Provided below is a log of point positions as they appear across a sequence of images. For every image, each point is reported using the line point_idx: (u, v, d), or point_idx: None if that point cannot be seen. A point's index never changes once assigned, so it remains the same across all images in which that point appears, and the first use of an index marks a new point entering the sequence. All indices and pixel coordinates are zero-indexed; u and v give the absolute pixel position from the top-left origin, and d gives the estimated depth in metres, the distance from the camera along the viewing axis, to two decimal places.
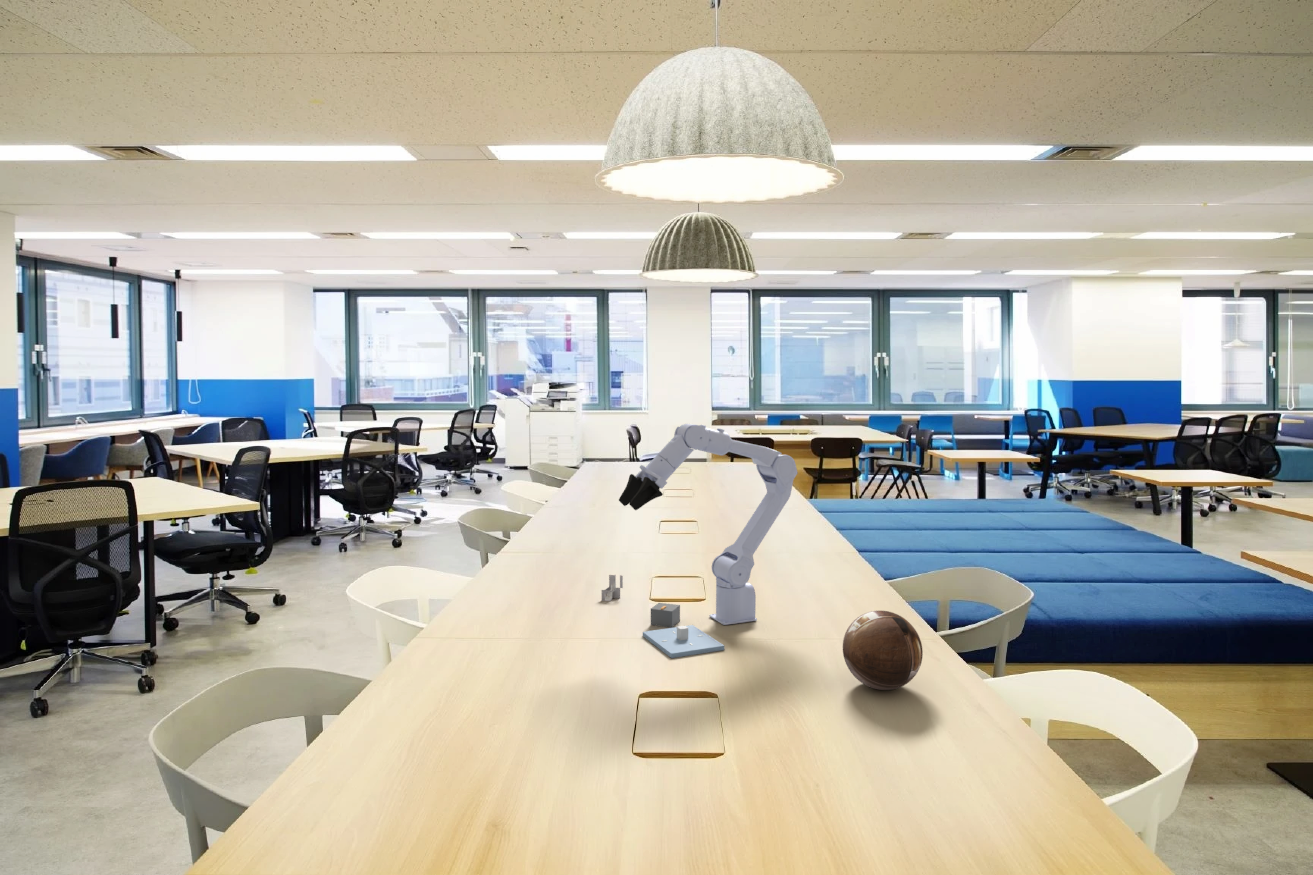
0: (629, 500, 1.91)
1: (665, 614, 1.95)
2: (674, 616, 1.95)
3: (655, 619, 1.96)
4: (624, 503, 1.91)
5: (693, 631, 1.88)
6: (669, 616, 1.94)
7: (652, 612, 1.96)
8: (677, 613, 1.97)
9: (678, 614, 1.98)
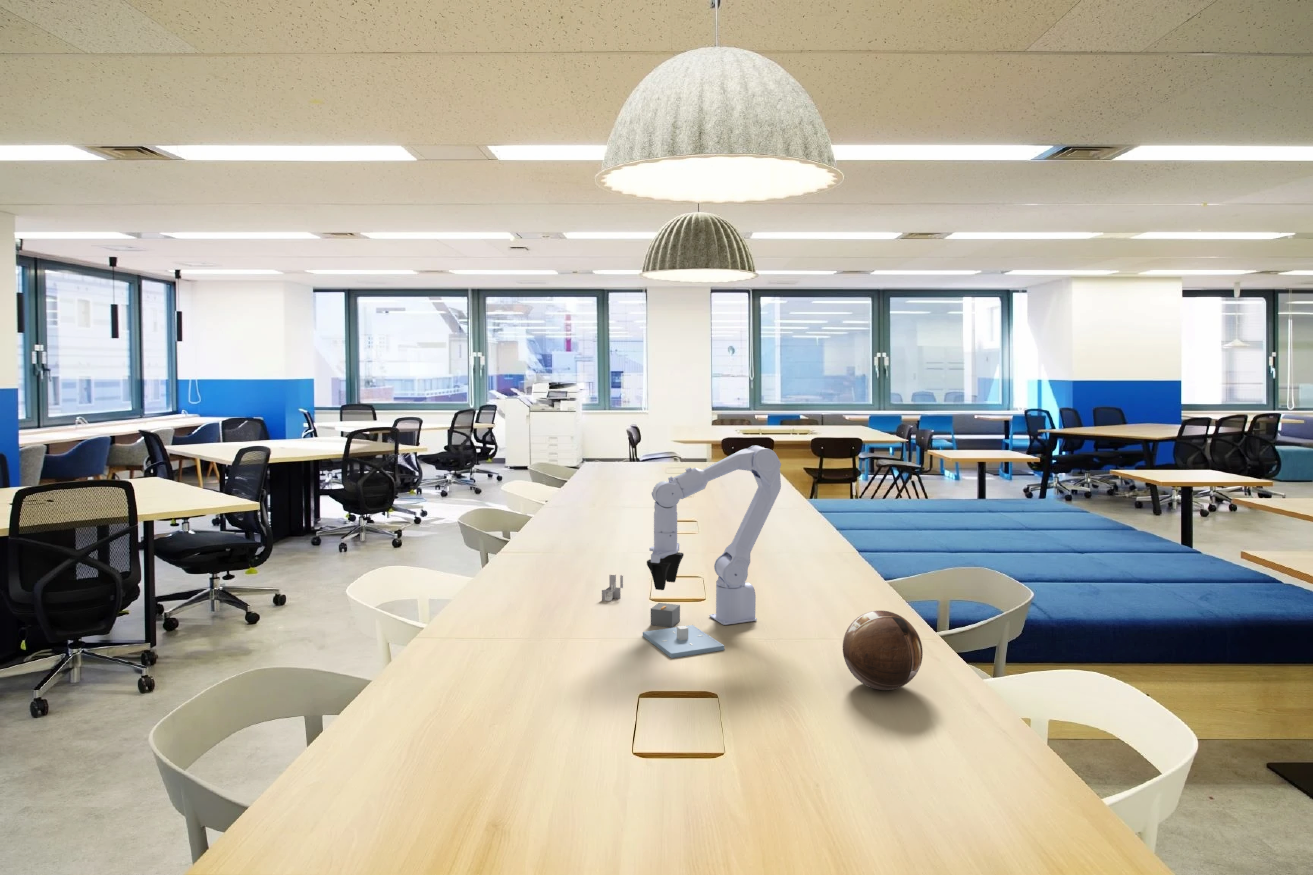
0: (673, 575, 2.00)
1: (665, 614, 1.95)
2: (674, 616, 1.95)
3: (655, 619, 1.96)
4: (672, 580, 2.00)
5: (693, 631, 1.88)
6: (669, 616, 1.94)
7: (652, 612, 1.96)
8: (677, 613, 1.97)
9: (678, 614, 1.98)
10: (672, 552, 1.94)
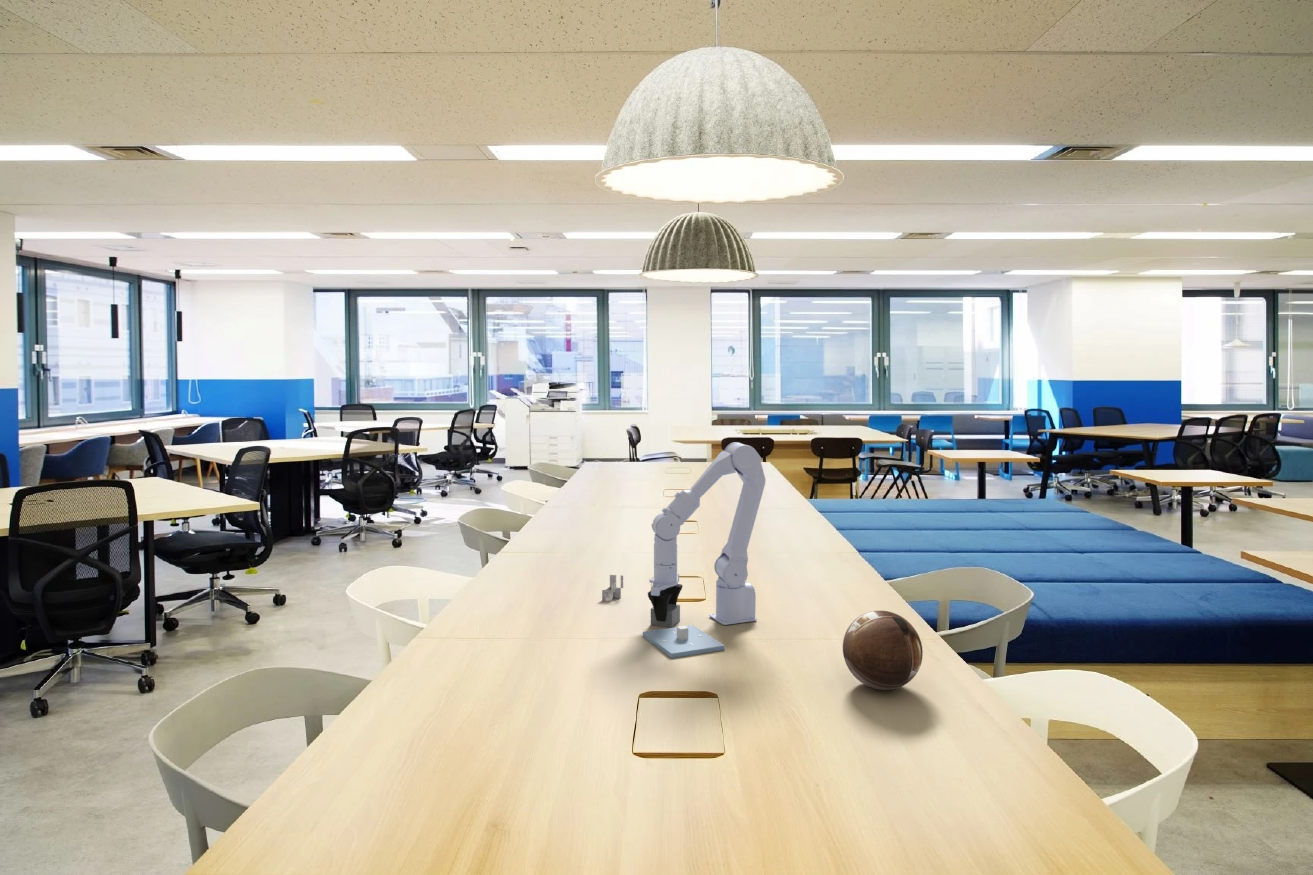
0: None
1: None
2: (674, 616, 1.95)
3: (655, 619, 1.96)
4: None
5: (693, 631, 1.88)
6: (669, 616, 1.94)
7: (652, 612, 1.96)
8: (677, 613, 1.97)
9: (678, 614, 1.98)
10: (672, 584, 1.94)
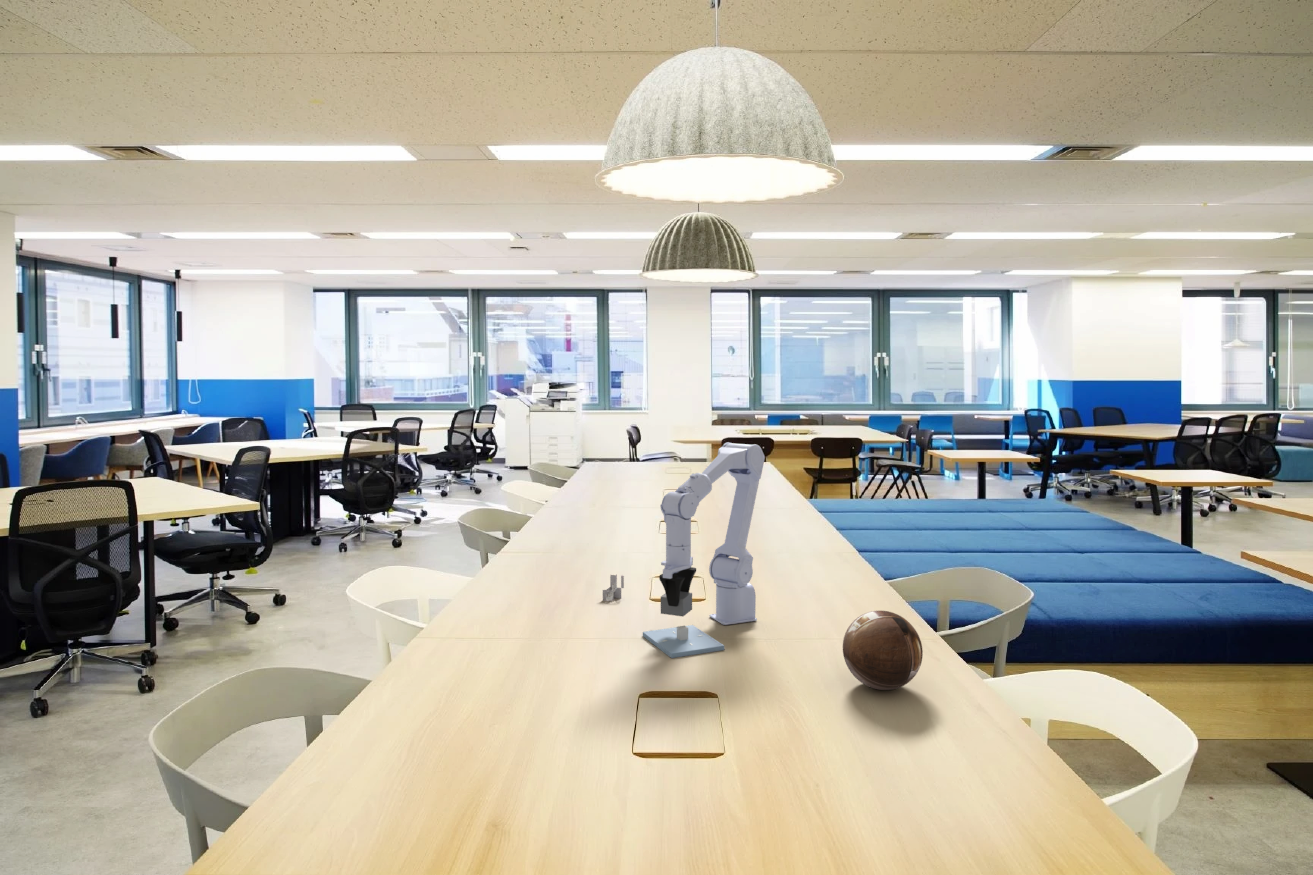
0: None
1: None
2: (685, 604, 1.84)
3: (665, 608, 1.84)
4: None
5: (693, 631, 1.88)
6: (680, 604, 1.82)
7: (662, 600, 1.84)
8: (689, 601, 1.86)
9: (690, 602, 1.86)
10: (685, 567, 1.82)
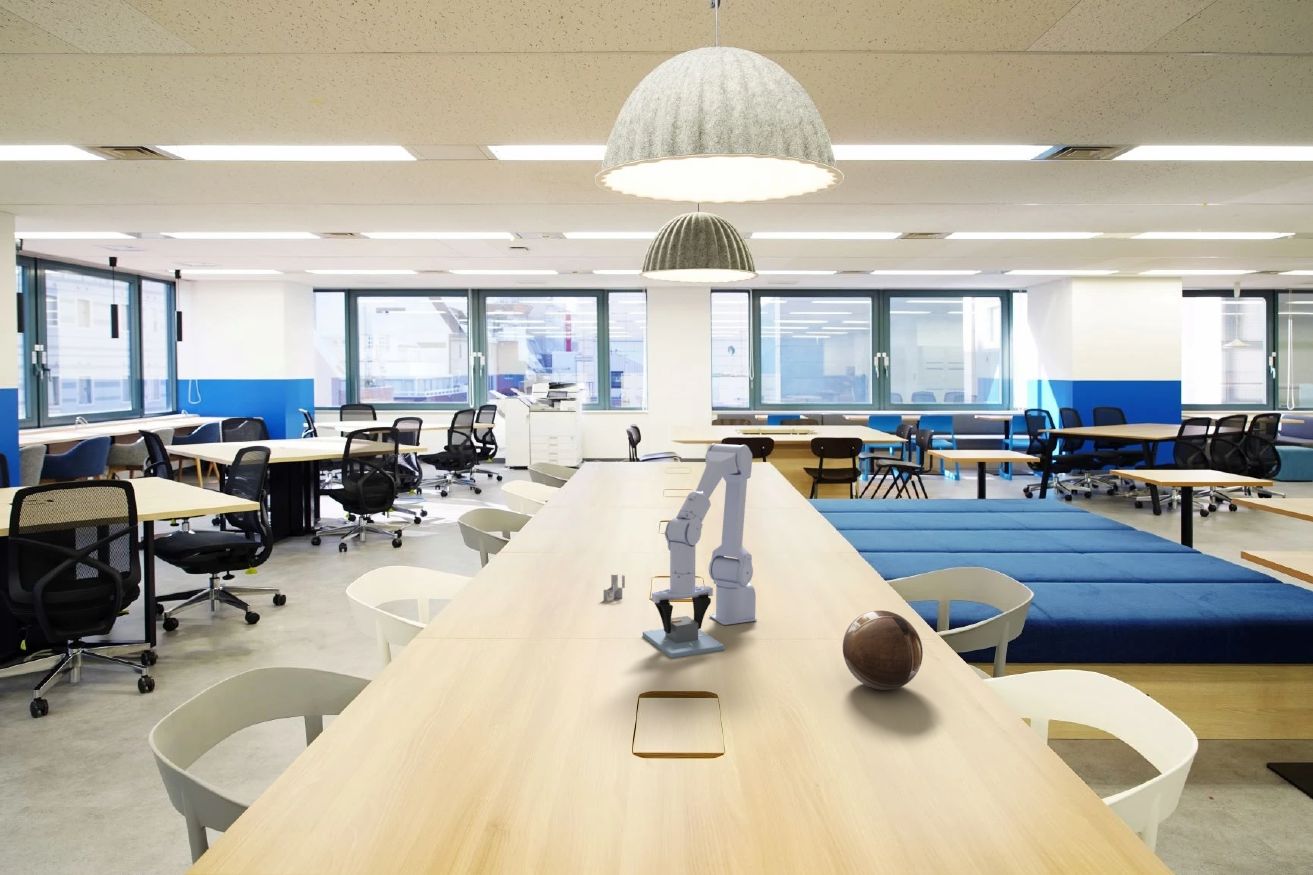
0: (698, 621, 1.83)
1: (672, 628, 1.81)
2: (682, 632, 1.80)
3: None
4: None
5: None
6: (674, 631, 1.80)
7: None
8: (691, 630, 1.81)
9: (694, 632, 1.81)
10: (679, 595, 1.79)
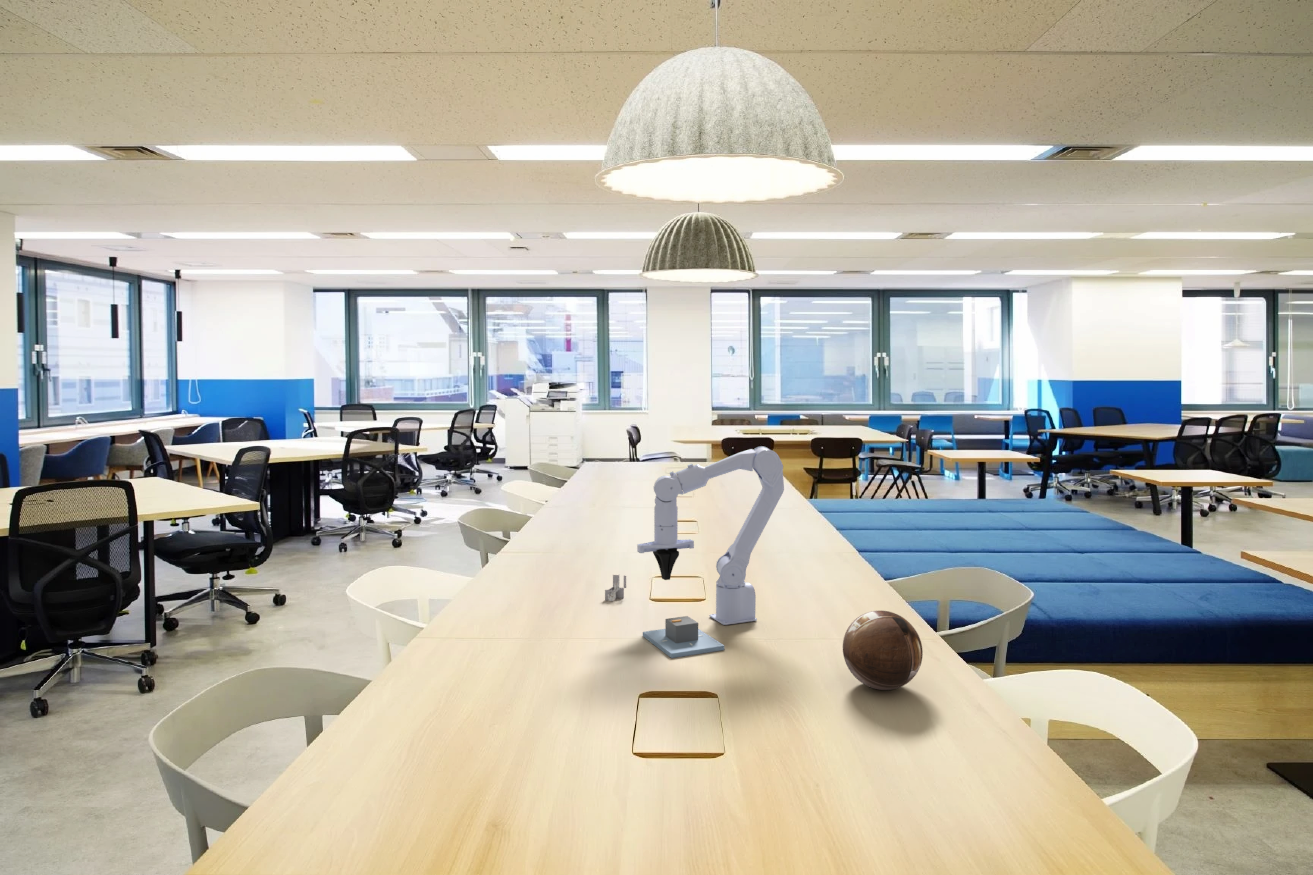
0: None
1: (672, 628, 1.81)
2: (682, 632, 1.80)
3: (667, 631, 1.83)
4: None
5: None
6: (674, 631, 1.80)
7: (666, 623, 1.84)
8: (691, 630, 1.81)
9: (694, 632, 1.81)
10: (662, 546, 1.95)
